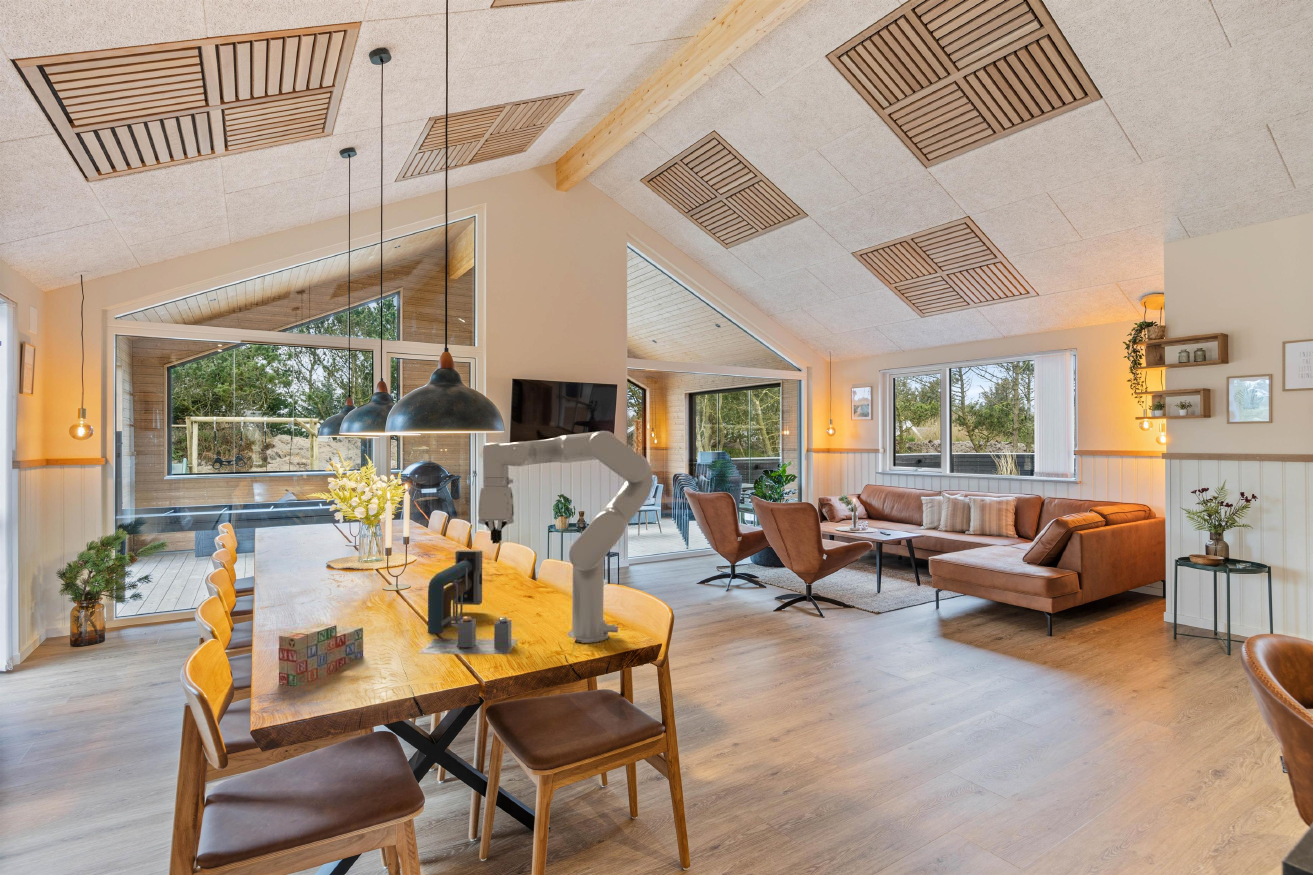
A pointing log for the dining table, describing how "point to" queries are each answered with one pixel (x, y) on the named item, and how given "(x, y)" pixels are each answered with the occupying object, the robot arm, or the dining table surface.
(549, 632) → the dining table surface
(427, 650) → the hole plate
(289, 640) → the stack of blocks
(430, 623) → the curved pipe assembly
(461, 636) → the block
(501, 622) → the fixed leg
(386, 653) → the dining table surface
